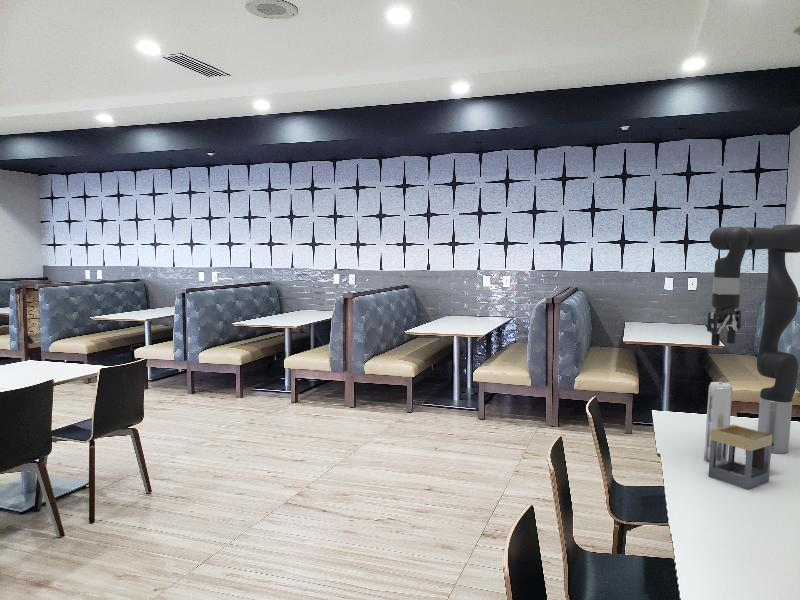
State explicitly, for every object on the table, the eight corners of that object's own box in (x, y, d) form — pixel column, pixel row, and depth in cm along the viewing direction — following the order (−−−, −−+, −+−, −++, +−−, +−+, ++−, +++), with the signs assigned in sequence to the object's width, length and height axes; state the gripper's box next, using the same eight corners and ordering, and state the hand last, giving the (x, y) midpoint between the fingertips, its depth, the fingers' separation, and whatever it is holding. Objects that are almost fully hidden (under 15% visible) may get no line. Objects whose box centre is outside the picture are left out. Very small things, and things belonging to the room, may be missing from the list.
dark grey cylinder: (775, 470, 186) (777, 438, 185) (768, 477, 180) (771, 444, 179) (745, 463, 192) (747, 432, 191) (738, 470, 186) (740, 437, 185)
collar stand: (729, 469, 186) (732, 424, 185) (768, 481, 177) (772, 434, 175) (708, 476, 180) (711, 429, 179) (747, 489, 170) (751, 440, 169)
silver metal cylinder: (729, 465, 189) (735, 386, 187) (707, 463, 191) (712, 384, 189) (723, 458, 196) (728, 381, 194) (701, 457, 197) (706, 380, 195)
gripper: (727, 290, 195) (724, 341, 196) (700, 292, 187) (698, 344, 189) (751, 292, 189) (748, 344, 190) (724, 294, 181) (721, 348, 183)
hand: (723, 344), depth 189 cm, fingers open, 8 cm apart
